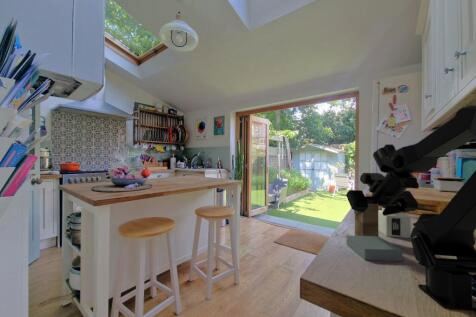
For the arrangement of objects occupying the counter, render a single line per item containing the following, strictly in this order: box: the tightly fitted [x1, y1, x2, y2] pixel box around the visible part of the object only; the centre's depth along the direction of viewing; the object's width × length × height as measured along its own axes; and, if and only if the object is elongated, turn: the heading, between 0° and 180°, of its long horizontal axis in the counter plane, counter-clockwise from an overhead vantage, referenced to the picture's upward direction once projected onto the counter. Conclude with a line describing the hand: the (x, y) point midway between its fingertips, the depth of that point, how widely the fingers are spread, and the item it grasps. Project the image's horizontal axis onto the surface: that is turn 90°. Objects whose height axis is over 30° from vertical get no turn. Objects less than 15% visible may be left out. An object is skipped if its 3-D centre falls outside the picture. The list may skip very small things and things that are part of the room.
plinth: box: [346, 235, 404, 262], centre depth 61 cm, size 10×10×3 cm
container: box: [378, 206, 412, 239], centre depth 77 cm, size 8×8×13 cm
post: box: [354, 205, 379, 236], centre depth 70 cm, size 5×5×14 cm
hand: (369, 214), depth 69 cm, fingers open, 9 cm apart
